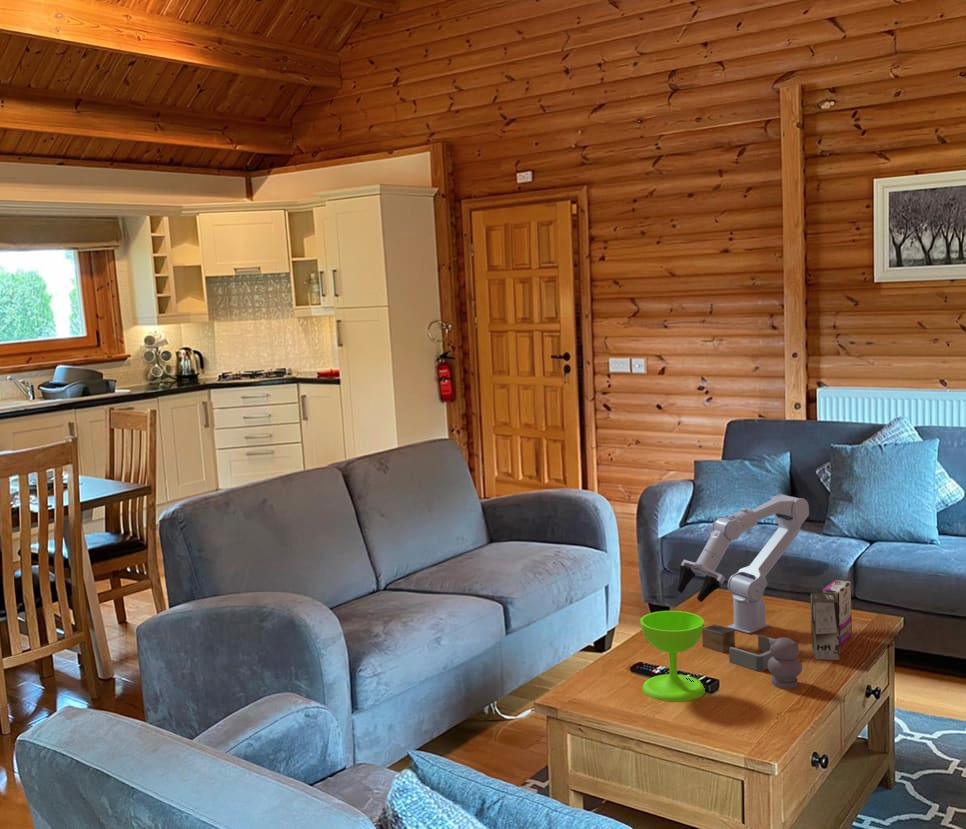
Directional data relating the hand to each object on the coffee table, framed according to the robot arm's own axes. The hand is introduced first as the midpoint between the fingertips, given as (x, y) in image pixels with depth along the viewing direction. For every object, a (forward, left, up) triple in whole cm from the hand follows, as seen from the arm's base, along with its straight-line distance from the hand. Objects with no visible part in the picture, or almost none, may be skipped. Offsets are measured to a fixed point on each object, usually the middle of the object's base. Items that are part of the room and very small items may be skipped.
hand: (689, 596), depth 279 cm
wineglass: (+29, +18, -14) cm, 37 cm away
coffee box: (-18, +32, -14) cm, 39 cm away
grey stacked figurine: (+7, +36, -14) cm, 40 cm away
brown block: (-2, +8, -14) cm, 16 cm away
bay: (-2, +22, -14) cm, 26 cm away
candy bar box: (-29, +29, -14) cm, 43 cm away
